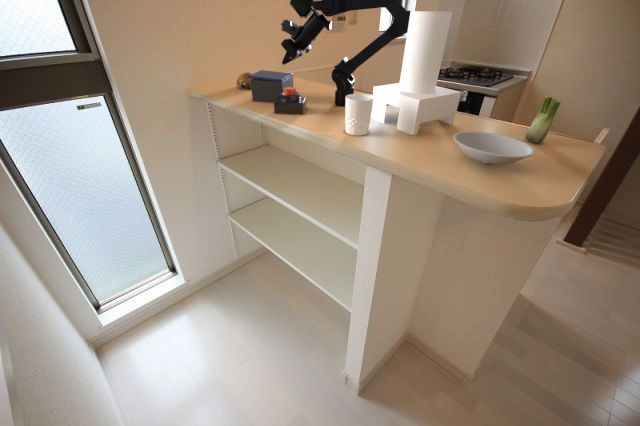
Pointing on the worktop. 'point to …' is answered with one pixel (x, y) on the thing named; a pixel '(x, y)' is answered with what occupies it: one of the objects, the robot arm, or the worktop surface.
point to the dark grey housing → (268, 89)
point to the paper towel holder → (420, 76)
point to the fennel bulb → (543, 120)
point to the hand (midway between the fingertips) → (282, 63)
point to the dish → (492, 147)
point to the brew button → (289, 90)
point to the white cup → (358, 113)
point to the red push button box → (290, 104)
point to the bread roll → (244, 81)
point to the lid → (270, 75)
